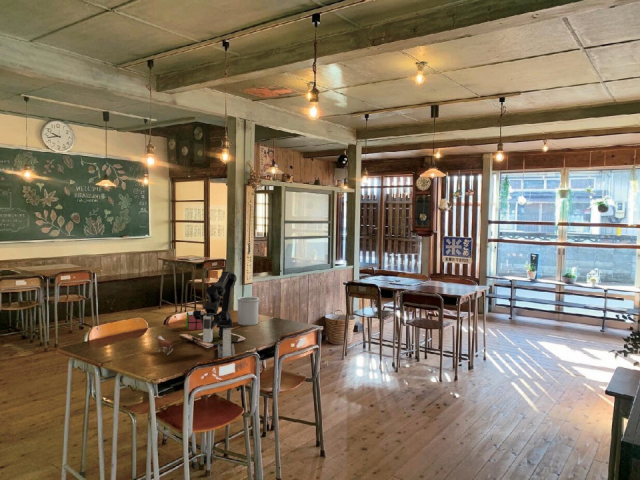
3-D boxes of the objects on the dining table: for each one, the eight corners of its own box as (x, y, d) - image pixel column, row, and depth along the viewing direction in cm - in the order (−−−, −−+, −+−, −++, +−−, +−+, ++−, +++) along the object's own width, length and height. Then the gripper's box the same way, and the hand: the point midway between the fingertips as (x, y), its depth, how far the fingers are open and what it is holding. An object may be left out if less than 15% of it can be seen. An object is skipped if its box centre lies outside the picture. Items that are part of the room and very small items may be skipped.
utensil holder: (232, 322, 325) (233, 297, 324) (250, 319, 335) (251, 295, 334) (244, 326, 314) (245, 300, 313) (262, 323, 324) (263, 298, 323)
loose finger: (205, 340, 255) (205, 314, 255) (212, 340, 255) (213, 315, 254) (202, 342, 251) (203, 316, 250) (209, 342, 250) (210, 316, 250)
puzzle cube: (203, 329, 304) (204, 314, 303) (188, 330, 300) (188, 314, 300) (201, 325, 313) (202, 311, 313) (186, 326, 309) (186, 311, 309)
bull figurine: (160, 349, 258) (161, 334, 257) (174, 354, 249) (175, 339, 249) (153, 350, 254) (153, 335, 254) (167, 356, 246) (167, 340, 245)
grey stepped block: (217, 348, 262) (218, 322, 261) (233, 348, 263) (233, 321, 263) (218, 358, 244) (218, 330, 243) (234, 358, 246) (235, 329, 245)
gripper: (194, 295, 257) (186, 320, 246) (227, 297, 255) (221, 321, 245) (198, 306, 265) (191, 331, 254) (231, 308, 264) (225, 332, 253)
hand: (207, 328), depth 252 cm, fingers closed on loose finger, 4 cm apart
